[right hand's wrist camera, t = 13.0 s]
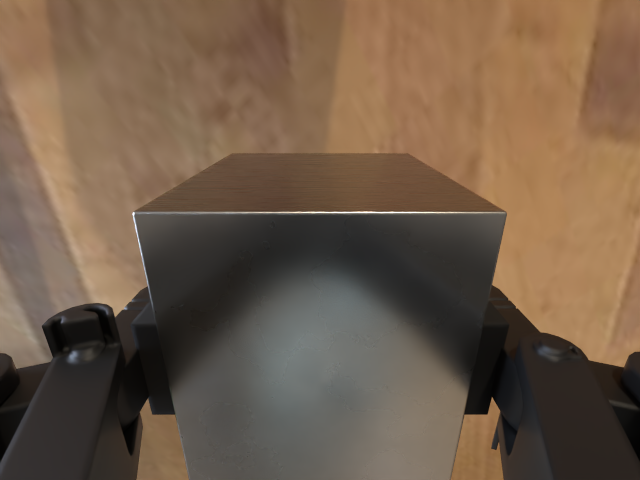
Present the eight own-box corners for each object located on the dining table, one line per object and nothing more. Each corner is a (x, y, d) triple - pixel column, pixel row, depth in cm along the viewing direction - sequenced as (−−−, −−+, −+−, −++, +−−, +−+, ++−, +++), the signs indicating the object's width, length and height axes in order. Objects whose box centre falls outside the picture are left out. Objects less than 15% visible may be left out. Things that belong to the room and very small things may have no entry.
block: (392, 328, 16) (447, 500, 9) (247, 328, 16) (192, 500, 9) (408, 153, 13) (508, 211, 6) (231, 153, 13) (130, 211, 6)
